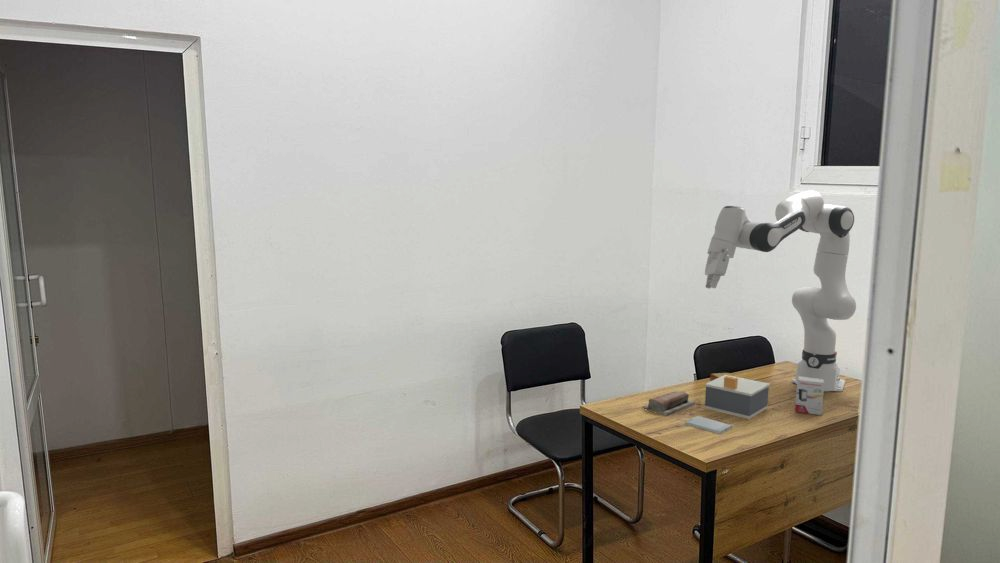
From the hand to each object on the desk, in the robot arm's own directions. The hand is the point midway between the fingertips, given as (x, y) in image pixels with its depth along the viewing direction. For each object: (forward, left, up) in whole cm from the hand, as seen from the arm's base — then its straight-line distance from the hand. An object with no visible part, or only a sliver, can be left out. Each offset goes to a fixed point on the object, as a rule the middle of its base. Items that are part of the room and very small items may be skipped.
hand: (710, 288), depth 237 cm
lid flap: (-5, +10, -35) cm, 36 cm away
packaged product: (+10, -8, -43) cm, 45 cm away
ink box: (-19, +30, -43) cm, 56 cm away
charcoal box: (-5, +10, -43) cm, 44 cm away
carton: (-27, -2, -43) cm, 51 cm away
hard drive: (+19, +11, -43) cm, 49 cm away
